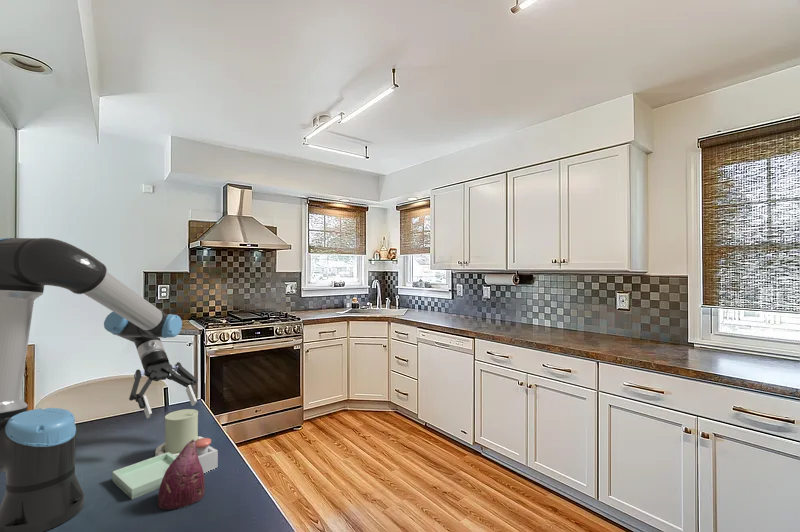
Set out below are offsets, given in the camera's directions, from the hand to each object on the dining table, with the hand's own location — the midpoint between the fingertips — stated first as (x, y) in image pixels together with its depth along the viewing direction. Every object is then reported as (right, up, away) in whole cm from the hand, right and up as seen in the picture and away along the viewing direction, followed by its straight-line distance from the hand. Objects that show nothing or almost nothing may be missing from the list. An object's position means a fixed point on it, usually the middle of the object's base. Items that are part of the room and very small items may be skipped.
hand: (173, 409), depth 125 cm
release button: (+17, -10, -15) cm, 25 cm away
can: (+5, -12, -4) cm, 13 cm away
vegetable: (+19, -12, -28) cm, 36 cm away
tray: (+6, -11, -20) cm, 23 cm away
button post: (+17, -11, -15) cm, 25 cm away
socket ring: (+5, -11, -4) cm, 13 cm away
